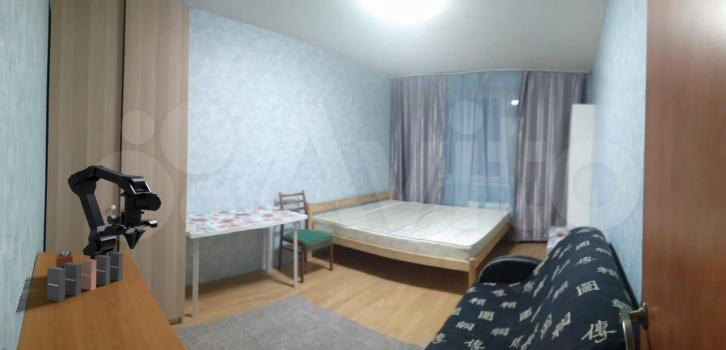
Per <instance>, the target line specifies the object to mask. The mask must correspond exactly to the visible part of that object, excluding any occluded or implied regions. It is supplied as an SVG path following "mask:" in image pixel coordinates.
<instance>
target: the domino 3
mask: <svg viewBox="0 0 726 350" xmlns="http://www.w3.org/2000/svg"><path fill="white" fill-rule="evenodd" d="M79 260H80V261H79V264H81V290H87V291H94V290H96V289H97V284H96V260H93V259H90V258H86V257H85V258H80V259H79Z"/></svg>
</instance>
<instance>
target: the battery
mask: <svg viewBox="0 0 726 350" xmlns="http://www.w3.org/2000/svg"><path fill="white" fill-rule="evenodd" d="M55 259H56V260H55V261H56V263H55V265H56V266H55V267H60V268H64V263H68V262H71V263H74V252H73V251H69V250H62V252H58V254H57V256H56V258H55Z"/></svg>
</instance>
